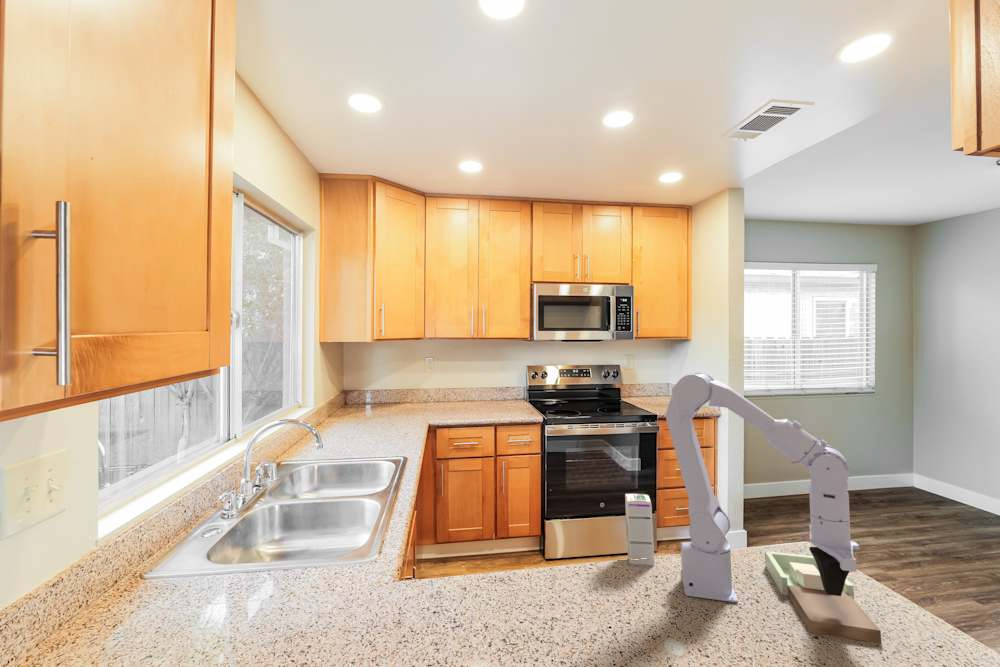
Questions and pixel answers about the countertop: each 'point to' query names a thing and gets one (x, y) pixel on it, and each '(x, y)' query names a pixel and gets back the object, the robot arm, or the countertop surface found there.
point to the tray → (781, 571)
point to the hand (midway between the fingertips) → (832, 593)
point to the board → (833, 614)
